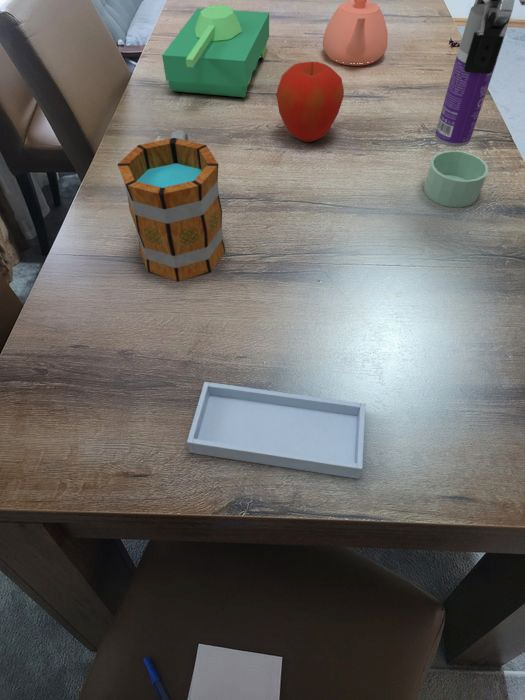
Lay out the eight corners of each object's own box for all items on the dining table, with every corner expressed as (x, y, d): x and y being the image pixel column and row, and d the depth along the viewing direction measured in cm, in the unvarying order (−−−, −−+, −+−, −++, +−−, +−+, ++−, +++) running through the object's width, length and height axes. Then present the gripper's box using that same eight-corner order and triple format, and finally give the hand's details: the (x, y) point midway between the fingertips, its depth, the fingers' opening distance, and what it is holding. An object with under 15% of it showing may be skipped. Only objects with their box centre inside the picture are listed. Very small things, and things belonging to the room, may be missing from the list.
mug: (223, 281, 73) (215, 194, 61) (132, 281, 73) (106, 194, 61) (229, 201, 85) (223, 116, 73) (152, 201, 85) (133, 116, 73)
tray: (362, 415, 59) (365, 403, 57) (358, 479, 54) (362, 469, 52) (206, 393, 61) (204, 381, 59) (189, 452, 56) (186, 442, 54)
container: (471, 148, 65) (515, 18, 53) (435, 145, 66) (471, 16, 54) (468, 130, 68) (510, 4, 56) (434, 128, 69) (468, 2, 57)
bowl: (475, 178, 89) (485, 152, 85) (480, 209, 83) (491, 183, 79) (422, 173, 90) (429, 148, 86) (424, 204, 84) (432, 178, 80)
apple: (265, 144, 96) (265, 67, 85) (292, 117, 103) (295, 42, 92) (323, 160, 93) (331, 82, 82) (347, 131, 99) (357, 55, 88)
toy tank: (146, 50, 95) (195, -10, 116) (157, 114, 104) (201, 47, 125) (235, 56, 92) (269, -7, 113) (238, 121, 102) (269, 52, 123)
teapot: (387, 79, 113) (398, 17, 104) (319, 76, 114) (324, 15, 105) (383, 41, 127) (393, -17, 117) (322, 38, 128) (327, -19, 118)
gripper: (606, -136, 40) (517, 96, 54) (565, -164, 50) (499, 37, 64) (509, -137, 40) (446, 91, 55) (489, -164, 51) (440, 34, 65)
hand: (476, 60), depth 59 cm, fingers closed on container, 4 cm apart
